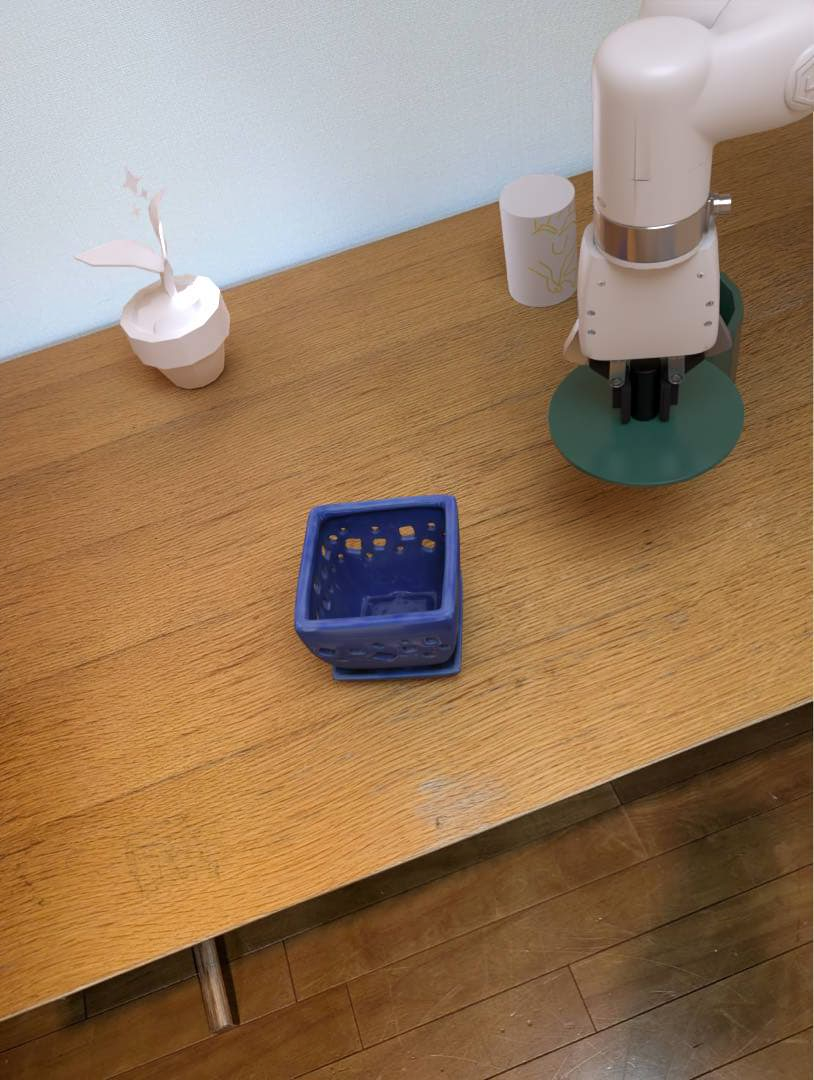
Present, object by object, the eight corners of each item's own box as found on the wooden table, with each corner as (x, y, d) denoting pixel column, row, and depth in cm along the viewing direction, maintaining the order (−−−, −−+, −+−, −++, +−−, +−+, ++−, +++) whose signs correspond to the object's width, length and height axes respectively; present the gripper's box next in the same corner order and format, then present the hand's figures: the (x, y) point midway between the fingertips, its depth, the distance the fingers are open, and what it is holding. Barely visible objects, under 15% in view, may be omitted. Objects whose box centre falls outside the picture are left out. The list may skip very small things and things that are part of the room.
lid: (731, 349, 86) (738, 288, 81) (755, 488, 76) (765, 429, 71) (547, 362, 89) (543, 304, 84) (548, 497, 79) (544, 441, 74)
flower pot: (335, 580, 95) (304, 501, 86) (473, 570, 93) (457, 488, 84) (324, 703, 87) (289, 631, 78) (474, 695, 85) (457, 620, 76)
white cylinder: (544, 316, 113) (537, 227, 104) (494, 289, 117) (483, 200, 108) (592, 279, 115) (590, 189, 106) (542, 254, 120) (535, 164, 111)
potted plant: (235, 326, 121) (162, 139, 102) (255, 385, 114) (181, 195, 95) (136, 361, 120) (44, 178, 101) (151, 422, 113) (54, 238, 94)
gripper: (766, 174, 68) (740, 371, 82) (531, 197, 71) (545, 384, 85) (782, 240, 64) (752, 437, 78) (530, 262, 66) (545, 448, 81)
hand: (643, 408), depth 82 cm, fingers closed on lid, 2 cm apart
